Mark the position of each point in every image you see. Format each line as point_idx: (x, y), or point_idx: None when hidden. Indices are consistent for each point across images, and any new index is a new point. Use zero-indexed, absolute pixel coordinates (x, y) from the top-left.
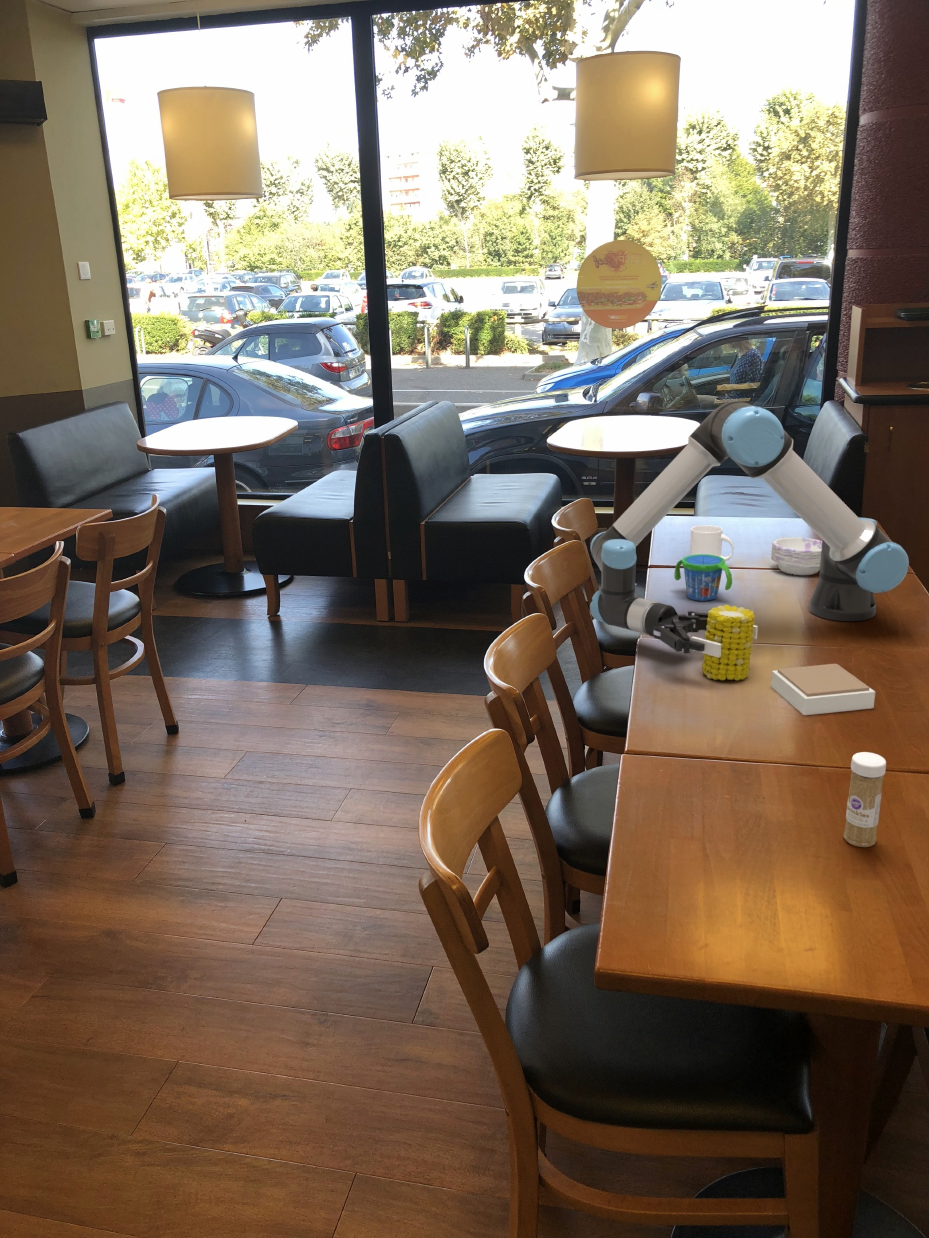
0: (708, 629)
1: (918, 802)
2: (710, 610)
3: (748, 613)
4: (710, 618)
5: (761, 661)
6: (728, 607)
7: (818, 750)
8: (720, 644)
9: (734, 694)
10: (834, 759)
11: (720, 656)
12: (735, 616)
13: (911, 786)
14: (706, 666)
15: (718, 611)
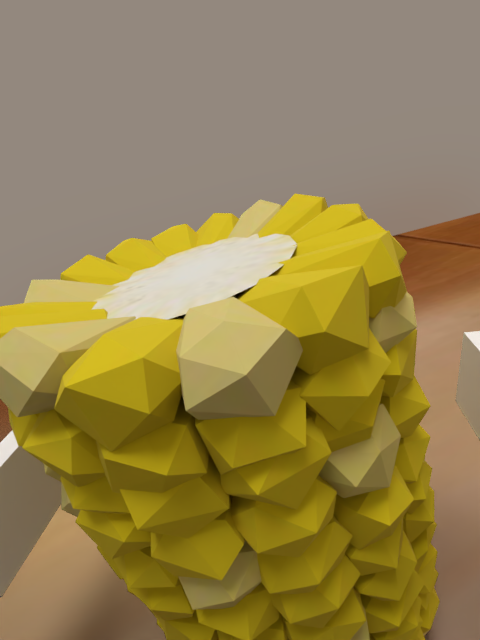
0: (395, 443)
1: (455, 219)
2: (243, 325)
3: (150, 245)
4: (370, 334)
5: (72, 528)
6: (39, 313)
7: (470, 267)
8: (475, 332)
9: (436, 442)
10: (468, 255)
11: (459, 399)
12: (278, 217)
13: (432, 227)
14: (430, 610)
15: (173, 323)
